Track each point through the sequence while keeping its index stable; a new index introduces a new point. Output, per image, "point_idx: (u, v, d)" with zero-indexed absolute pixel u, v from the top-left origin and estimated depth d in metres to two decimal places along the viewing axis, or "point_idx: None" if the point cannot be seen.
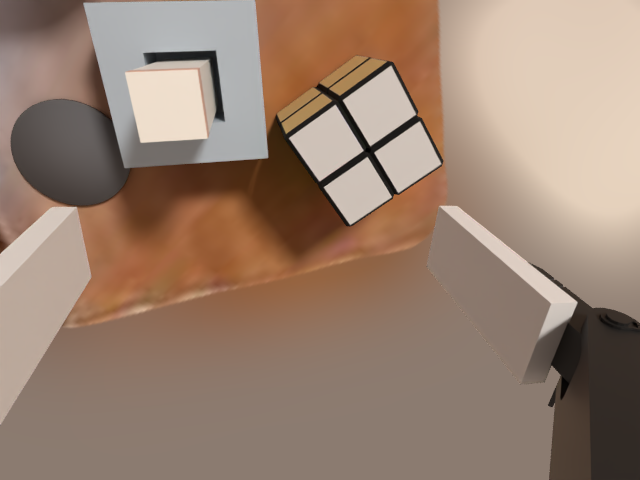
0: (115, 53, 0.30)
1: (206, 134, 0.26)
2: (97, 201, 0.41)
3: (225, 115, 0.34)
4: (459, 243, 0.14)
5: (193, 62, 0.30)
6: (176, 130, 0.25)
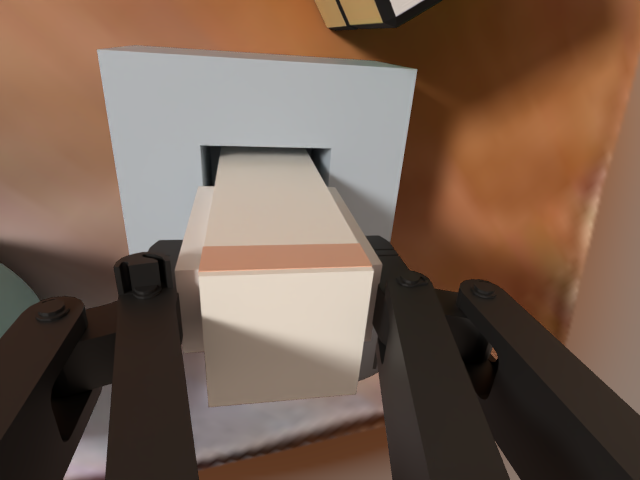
0: None
1: (362, 270, 0.10)
2: None
3: (319, 145, 0.17)
4: None
5: None
6: (342, 331, 0.10)
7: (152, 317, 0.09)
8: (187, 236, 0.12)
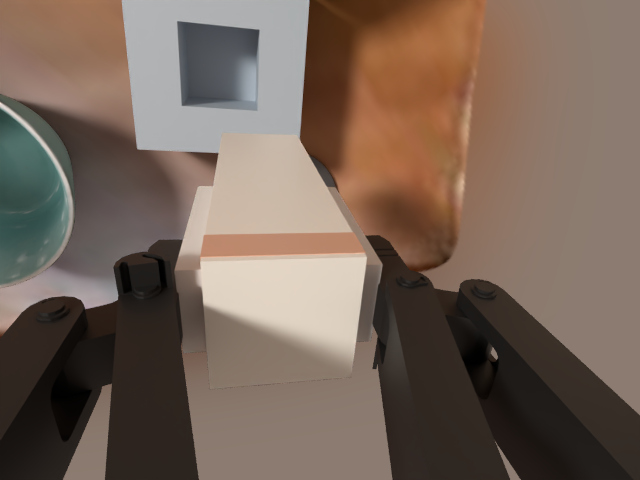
0: (182, 133, 0.30)
1: (356, 256, 0.10)
2: None
3: (252, 27, 0.28)
4: None
5: None
6: (337, 316, 0.11)
7: (152, 317, 0.09)
8: (187, 236, 0.12)
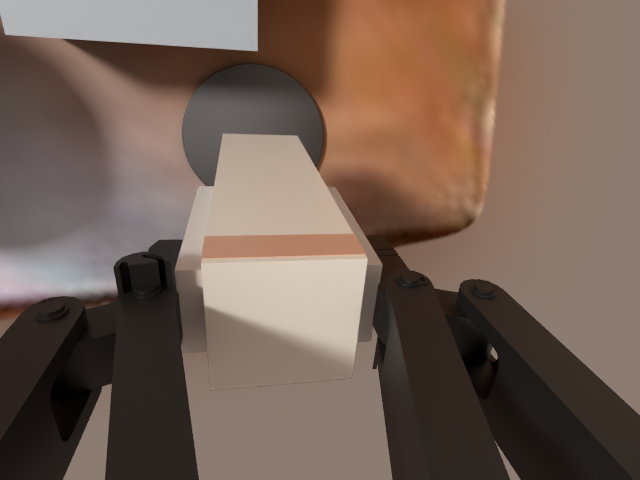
0: (74, 8, 0.20)
1: (357, 258, 0.10)
2: (319, 127, 0.30)
3: None
4: None
5: None
6: (337, 317, 0.11)
7: (152, 317, 0.09)
8: (187, 236, 0.12)
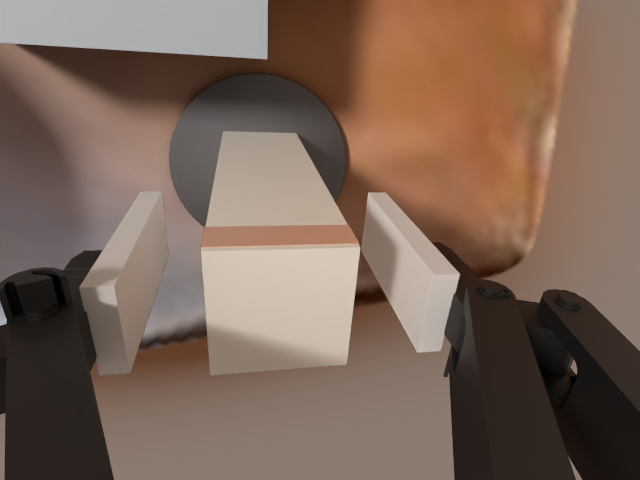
0: None
1: (350, 247, 0.11)
2: (342, 151, 0.24)
3: None
4: (380, 226, 0.15)
5: None
6: (332, 304, 0.11)
7: (50, 339, 0.08)
8: (108, 247, 0.11)
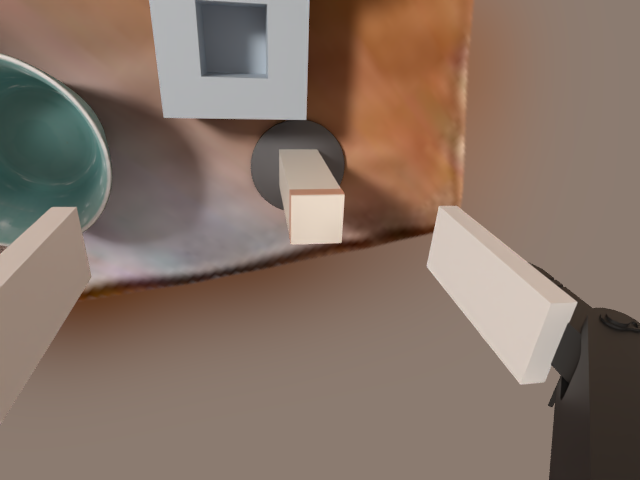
0: (202, 101, 0.34)
1: (341, 195, 0.31)
2: (342, 158, 0.44)
3: (260, 2, 0.31)
4: (459, 243, 0.14)
5: None
6: (335, 217, 0.31)
7: None
8: None
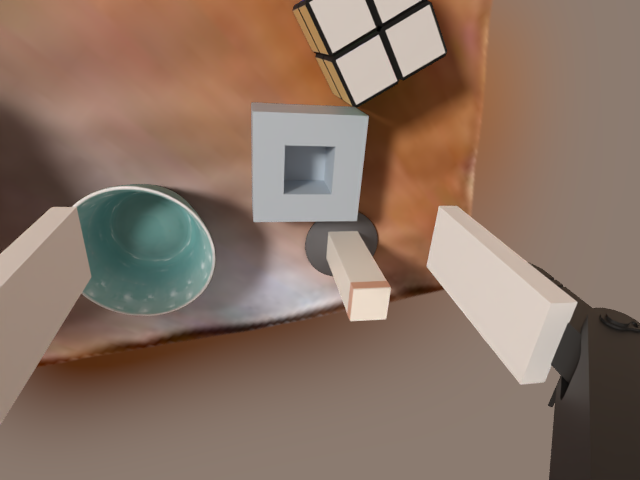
0: (283, 210, 0.46)
1: (388, 288, 0.43)
2: (376, 237, 0.56)
3: (330, 145, 0.43)
4: (459, 243, 0.14)
5: (338, 262, 0.49)
6: (383, 302, 0.43)
7: None
8: None
